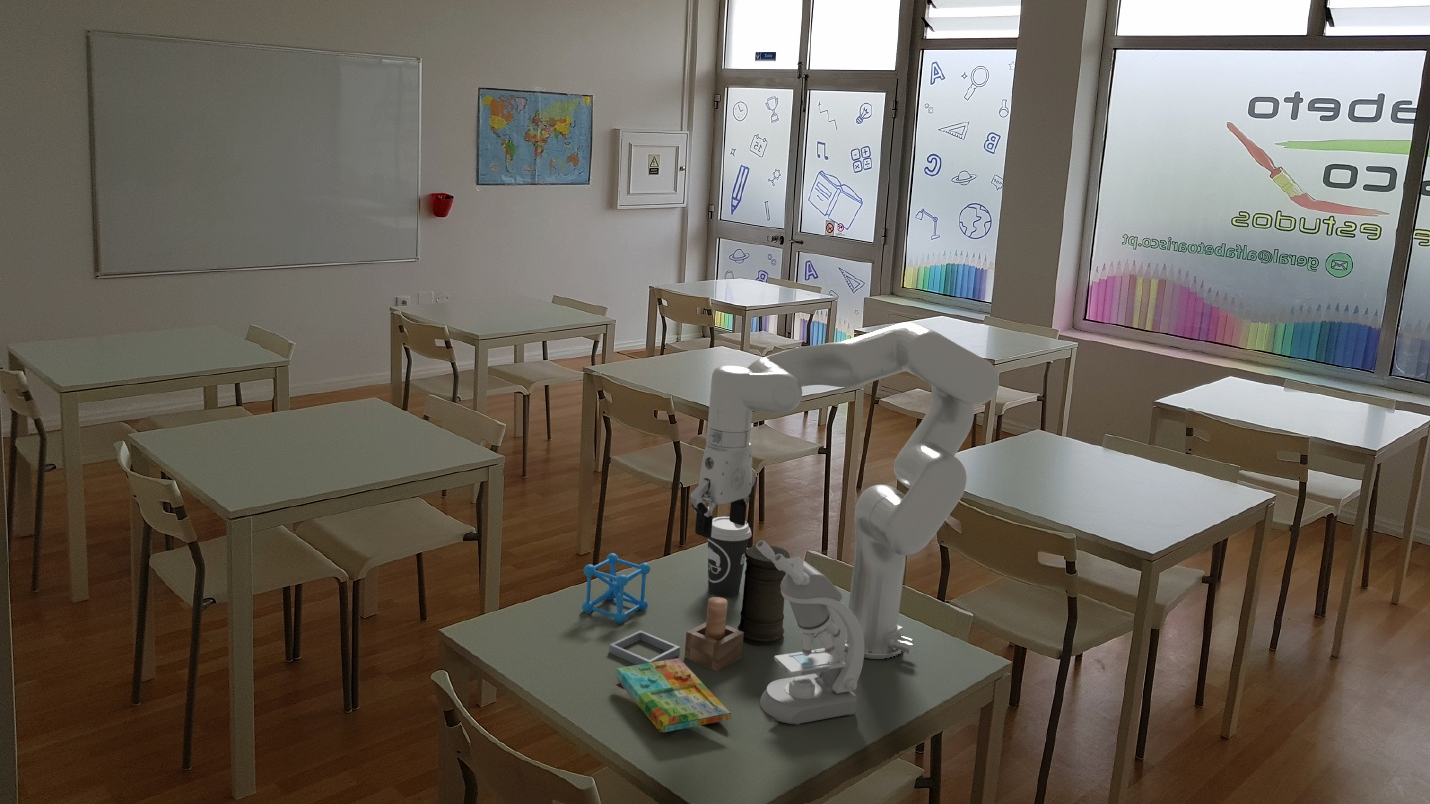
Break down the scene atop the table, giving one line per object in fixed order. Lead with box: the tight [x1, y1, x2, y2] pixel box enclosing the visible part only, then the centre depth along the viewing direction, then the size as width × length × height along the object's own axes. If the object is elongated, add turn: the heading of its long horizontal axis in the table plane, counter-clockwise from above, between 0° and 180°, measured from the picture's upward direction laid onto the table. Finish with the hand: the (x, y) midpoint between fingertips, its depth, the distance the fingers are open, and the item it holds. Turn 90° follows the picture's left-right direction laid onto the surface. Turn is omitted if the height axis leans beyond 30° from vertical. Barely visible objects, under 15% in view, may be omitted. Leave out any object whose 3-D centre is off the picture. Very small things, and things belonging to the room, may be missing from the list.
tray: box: [608, 629, 681, 665], centre depth 204 cm, size 10×8×2 cm
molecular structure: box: [581, 552, 651, 624], centre depth 222 cm, size 10×10×10 cm
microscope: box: [755, 539, 865, 726], centre depth 187 cm, size 11×19×30 cm, turn 116°
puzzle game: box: [615, 657, 732, 733], centre depth 187 cm, size 12×5×20 cm
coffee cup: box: [707, 516, 752, 598], centre depth 235 cm, size 10×10×15 cm
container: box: [737, 544, 791, 648], centre depth 213 cm, size 9×9×18 cm
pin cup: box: [684, 621, 744, 672], centre depth 204 cm, size 7×7×6 cm
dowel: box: [705, 596, 728, 641], centre depth 203 cm, size 4×4×11 cm
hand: (720, 529), depth 201 cm, fingers open, 9 cm apart
